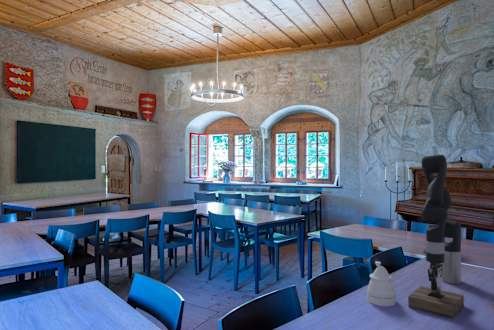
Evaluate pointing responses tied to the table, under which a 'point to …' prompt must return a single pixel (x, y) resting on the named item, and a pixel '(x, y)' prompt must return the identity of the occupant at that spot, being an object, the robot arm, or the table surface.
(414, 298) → the socket block
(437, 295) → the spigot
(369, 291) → the honey pot
